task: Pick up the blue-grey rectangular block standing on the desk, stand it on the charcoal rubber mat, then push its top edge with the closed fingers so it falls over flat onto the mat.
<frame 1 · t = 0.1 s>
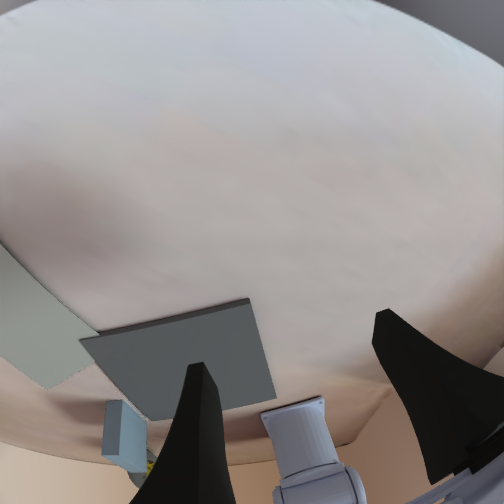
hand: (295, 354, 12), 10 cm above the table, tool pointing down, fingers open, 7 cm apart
mat: (188, 373, 27), on the table
blue-grey rectangular block: (127, 412, 30), on the table
pocket watch: (138, 448, 36), on the table
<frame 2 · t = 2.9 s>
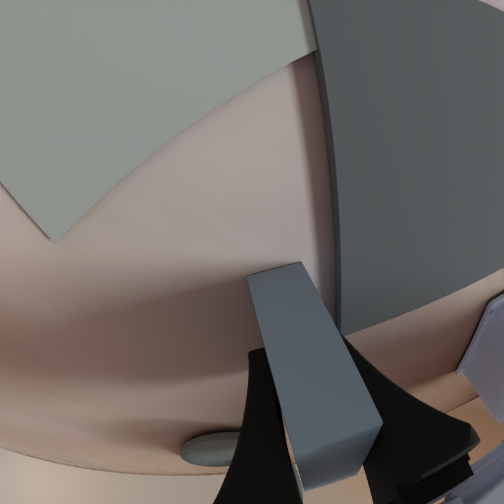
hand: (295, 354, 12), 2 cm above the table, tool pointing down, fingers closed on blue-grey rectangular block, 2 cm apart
mat: (472, 157, 10), on the table
blue-grey rectangular block: (283, 321, 13), on the table, touching gripper
pocket watch: (235, 437, 20), on the table
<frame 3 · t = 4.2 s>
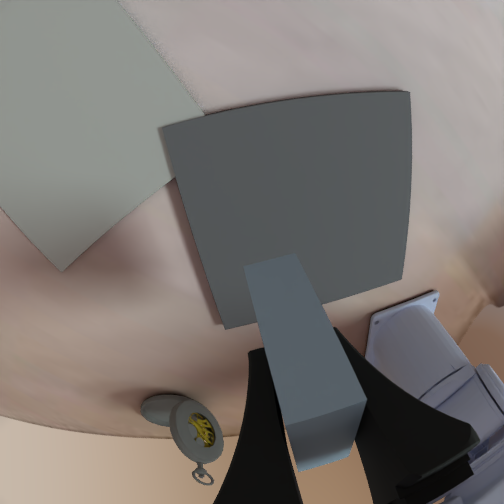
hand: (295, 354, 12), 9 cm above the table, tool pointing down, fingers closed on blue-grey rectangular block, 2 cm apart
mat: (311, 214, 19), on the table
blue-grey rectangular block: (278, 310, 14), point 6 cm above the table, touching gripper
pocket watch: (179, 402, 29), on the table
when the fingers open (3 cm above the table, at t = 5.8 s): blue-grey rectangular block stays where it is, resting on mat.
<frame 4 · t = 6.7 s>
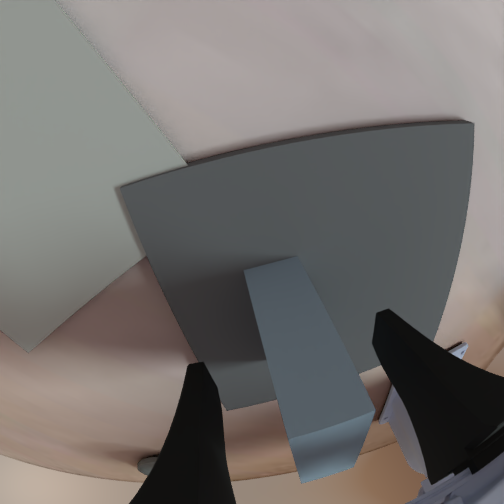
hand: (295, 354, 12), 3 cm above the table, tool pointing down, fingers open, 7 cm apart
mat: (338, 290, 14), on the table
blue-grey rectangular block: (280, 315, 14), point 1 cm above the table, touching mat
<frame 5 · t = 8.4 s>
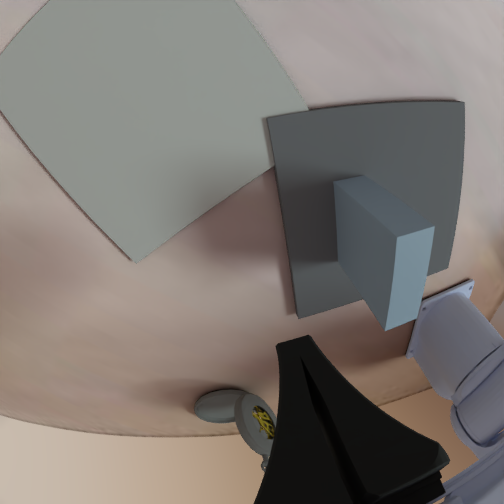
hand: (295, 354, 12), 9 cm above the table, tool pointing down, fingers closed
mat: (384, 208, 20), on the table
blue-grey rectangular block: (351, 220, 19), point 1 cm above the table, touching mat
pocket watch: (234, 397, 29), on the table
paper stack: (38, 95, 12), on the table
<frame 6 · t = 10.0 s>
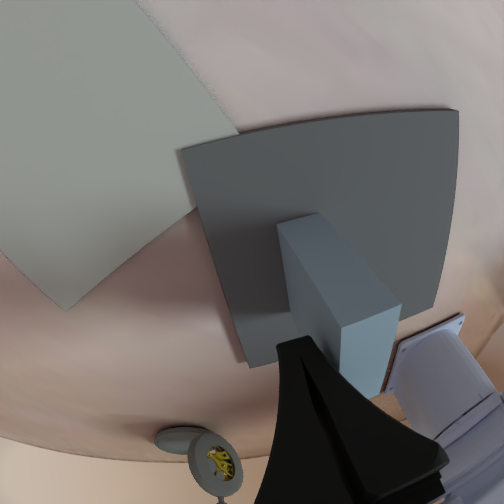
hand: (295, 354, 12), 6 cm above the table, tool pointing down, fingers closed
mat: (350, 248, 17), on the table
blue-grey rectangular block: (304, 267, 16), point 1 cm above the table, touching gripper, mat
pocket watch: (195, 432, 26), on the table
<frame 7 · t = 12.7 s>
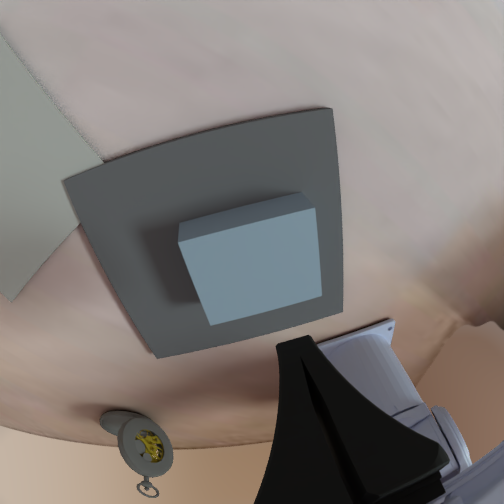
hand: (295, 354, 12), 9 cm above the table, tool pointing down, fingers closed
mat: (224, 253, 19), on the table
blue-grey rectangular block: (195, 276, 17), point 2 cm above the table, tilted 90°, touching mat
pocket watch: (135, 417, 28), on the table
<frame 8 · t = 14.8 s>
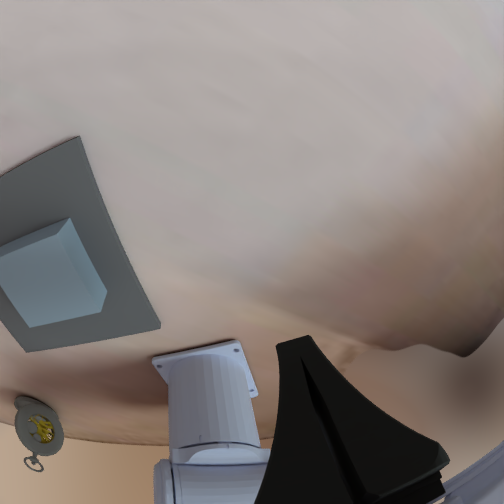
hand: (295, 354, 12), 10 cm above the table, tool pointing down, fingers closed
mat: (38, 269, 18), on the table
blue-grey rectangular block: (13, 288, 17), point 2 cm above the table, tilted 90°, touching mat
pocket watch: (41, 405, 28), on the table
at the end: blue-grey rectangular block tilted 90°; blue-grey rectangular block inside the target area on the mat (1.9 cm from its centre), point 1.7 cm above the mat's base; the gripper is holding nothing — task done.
